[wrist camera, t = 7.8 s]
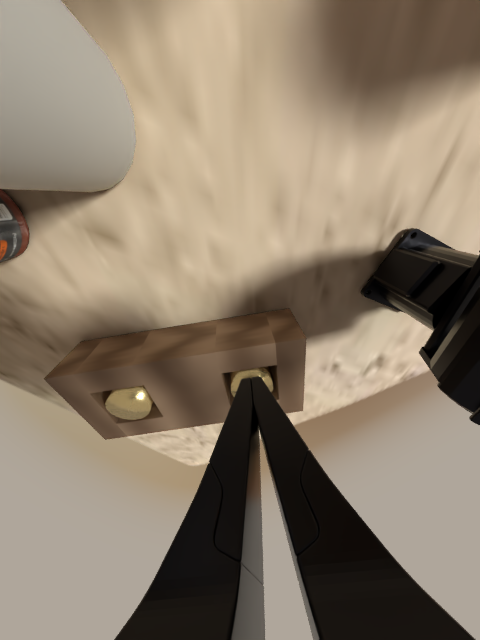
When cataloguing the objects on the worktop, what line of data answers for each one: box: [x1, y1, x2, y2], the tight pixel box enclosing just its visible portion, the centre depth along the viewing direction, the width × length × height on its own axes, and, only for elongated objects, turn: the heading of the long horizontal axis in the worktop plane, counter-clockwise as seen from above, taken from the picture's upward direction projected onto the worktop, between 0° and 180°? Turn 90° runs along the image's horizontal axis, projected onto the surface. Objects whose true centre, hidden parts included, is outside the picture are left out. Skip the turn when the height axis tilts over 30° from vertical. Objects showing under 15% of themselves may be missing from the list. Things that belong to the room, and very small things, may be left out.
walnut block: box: [44, 309, 306, 439], centre depth 21 cm, size 22×10×5 cm, turn 98°
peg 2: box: [230, 366, 273, 396], centre depth 21 cm, size 4×4×5 cm
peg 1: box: [105, 385, 153, 420], centre depth 21 cm, size 4×4×5 cm
